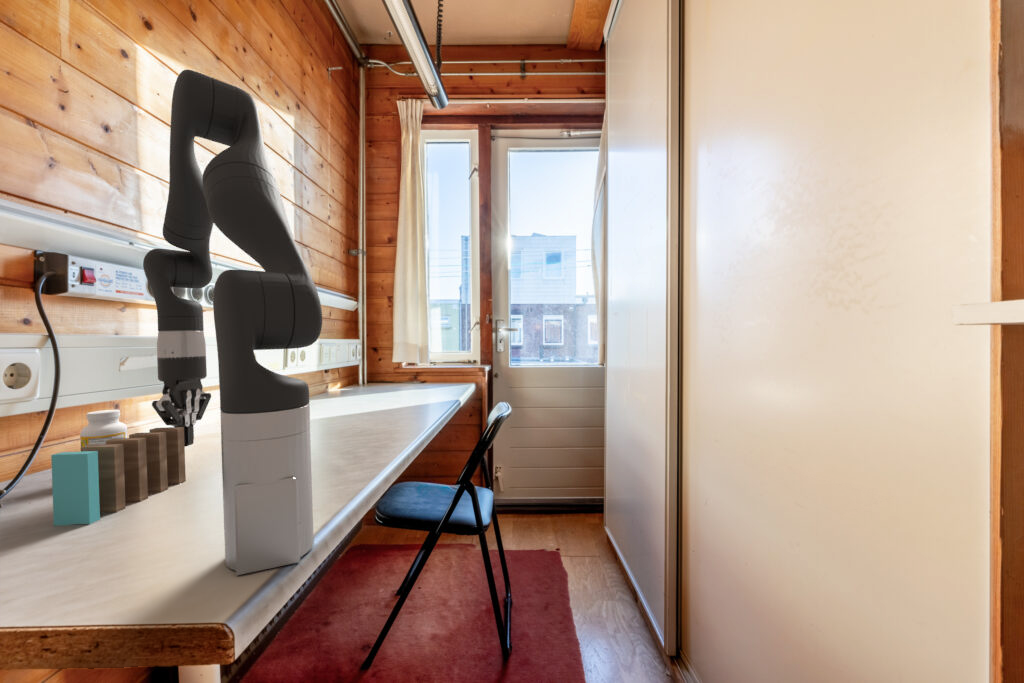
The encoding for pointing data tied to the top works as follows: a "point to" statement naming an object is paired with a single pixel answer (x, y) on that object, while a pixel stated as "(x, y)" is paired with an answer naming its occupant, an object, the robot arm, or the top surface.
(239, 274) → the robot arm
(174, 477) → the domino
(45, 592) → the top surface
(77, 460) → the domino
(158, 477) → the domino
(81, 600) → the top surface
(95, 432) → the supplement bottle
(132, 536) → the top surface
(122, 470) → the domino
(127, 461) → the domino
